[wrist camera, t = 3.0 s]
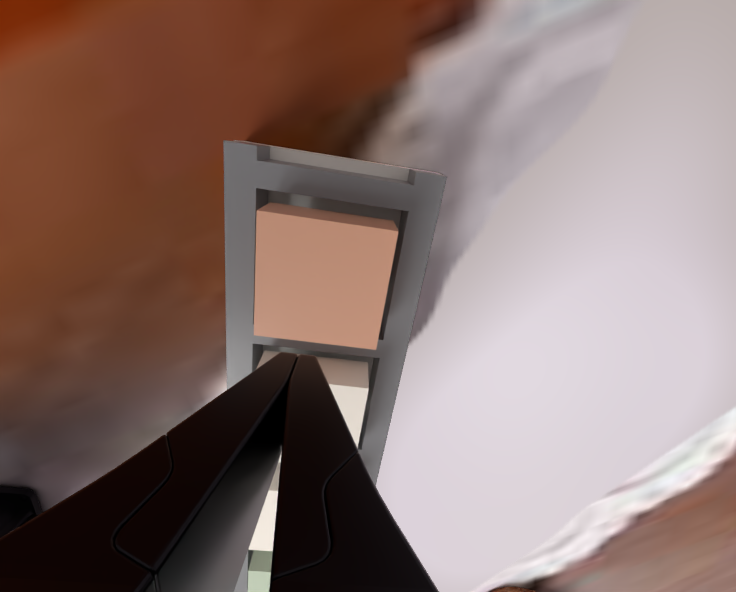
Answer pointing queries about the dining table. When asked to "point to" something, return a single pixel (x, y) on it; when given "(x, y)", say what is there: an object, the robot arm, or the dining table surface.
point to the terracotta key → (321, 275)
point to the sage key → (260, 571)
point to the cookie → (512, 589)
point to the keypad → (338, 194)
